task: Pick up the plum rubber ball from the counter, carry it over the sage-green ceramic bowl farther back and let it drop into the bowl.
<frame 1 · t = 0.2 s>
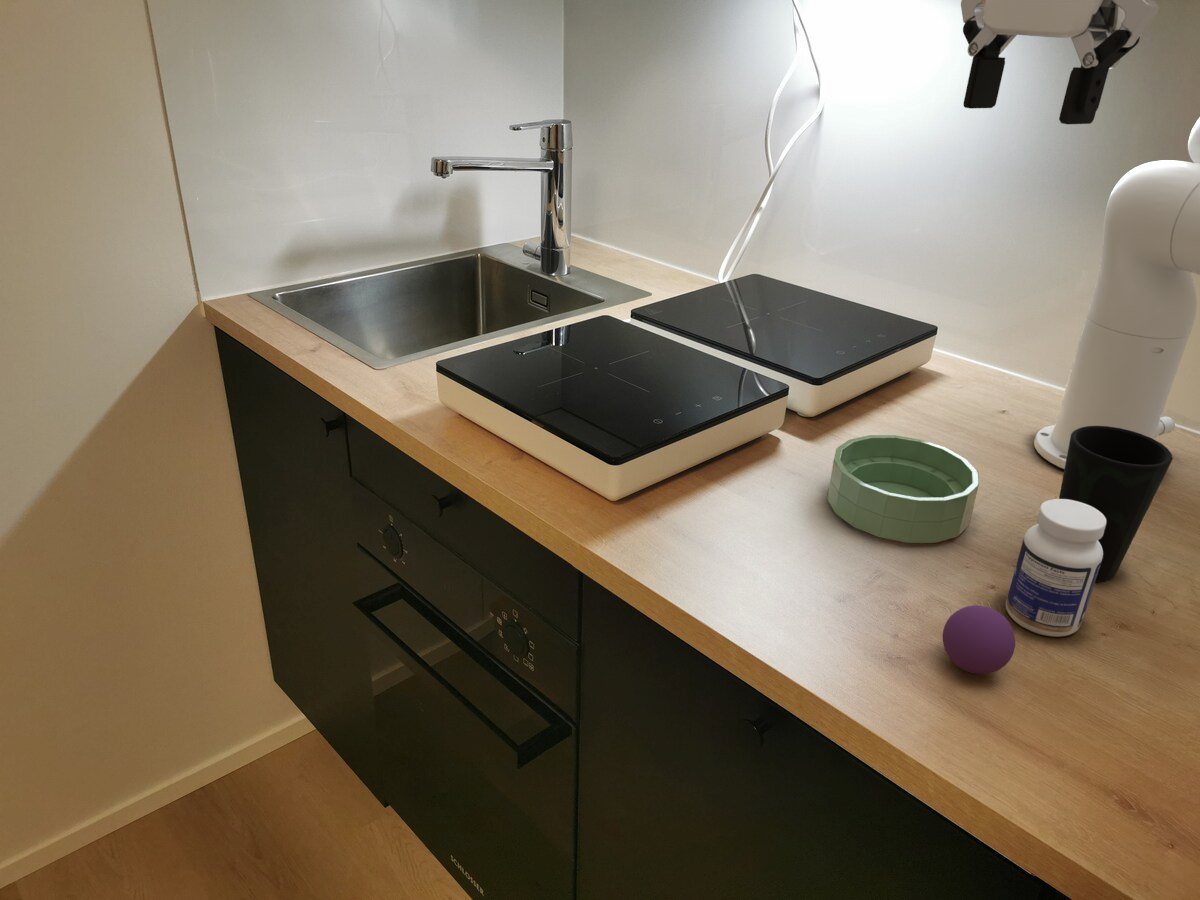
hand: (1024, 115, 74), 37 cm above the worktop, tool pointing down, fingers open, 9 cm apart
bowl: (895, 510, 89), on the worktop
pill bottle: (1040, 619, 74), on the worktop
cup: (1080, 565, 82), on the worktop
ball: (978, 639, 67), point 2 cm above the worktop
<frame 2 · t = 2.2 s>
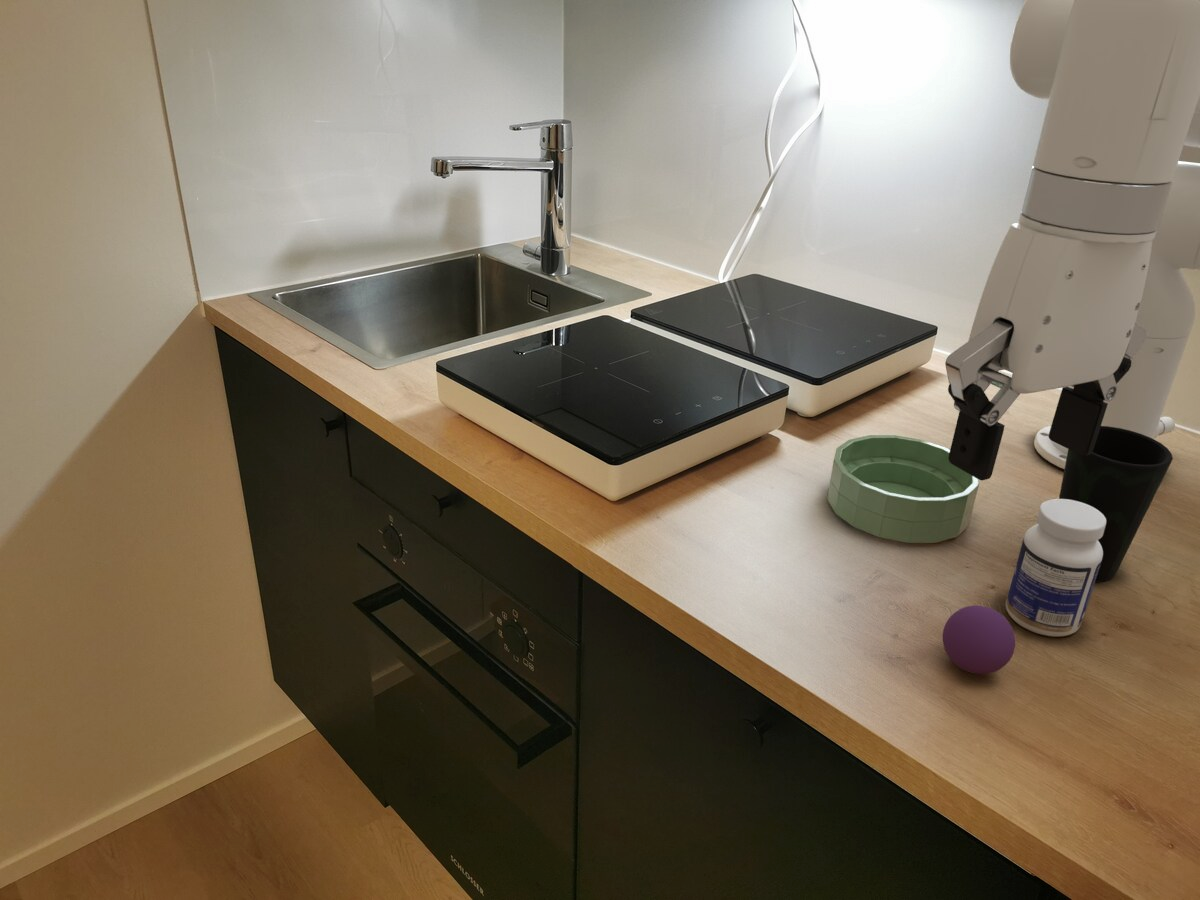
hand: (1020, 458, 62), 17 cm above the worktop, tool pointing down, fingers open, 9 cm apart
nothing on the worktop moved.
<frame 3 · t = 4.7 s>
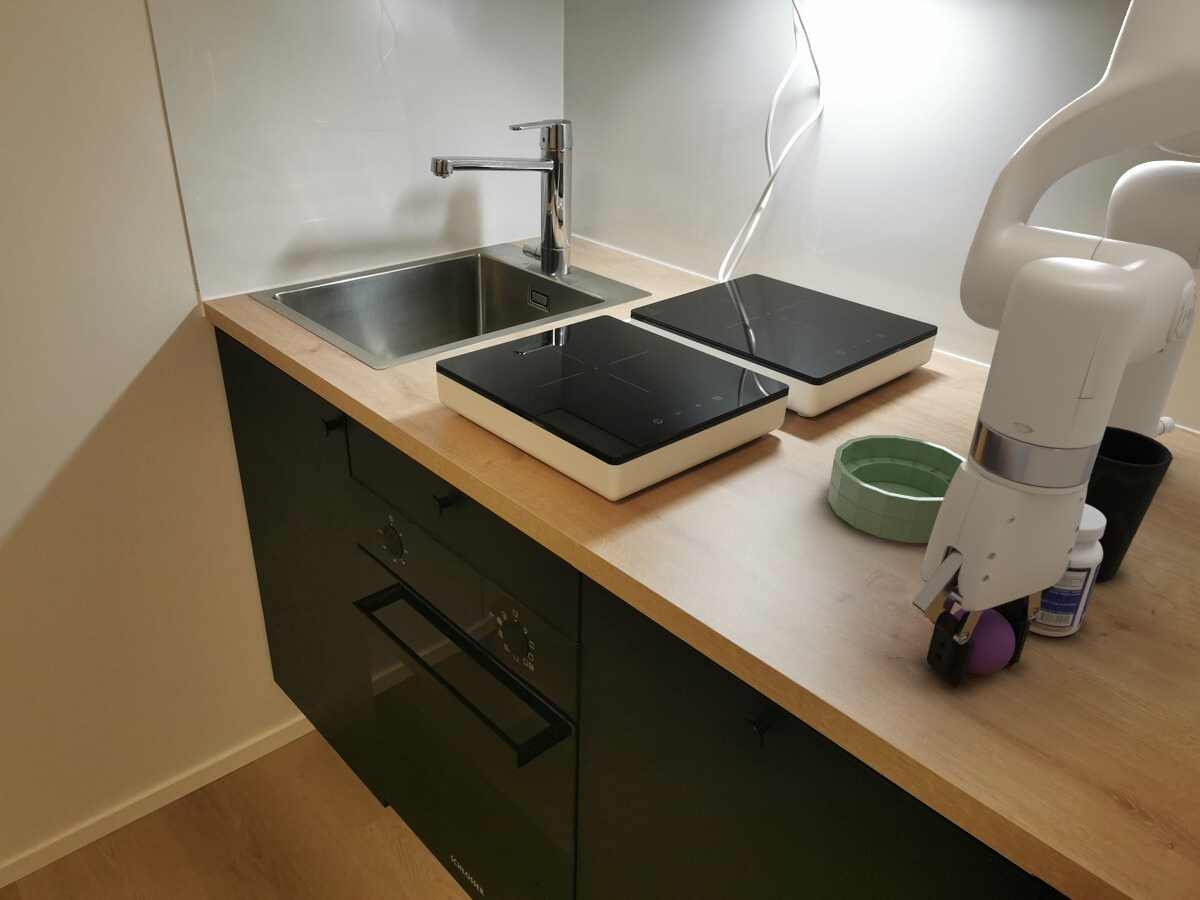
hand: (972, 661, 68), 0 cm above the worktop, tool pointing down, fingers closed on ball, 4 cm apart
ball: (978, 639, 67), point 2 cm above the worktop, touching gripper
everything else where it was.
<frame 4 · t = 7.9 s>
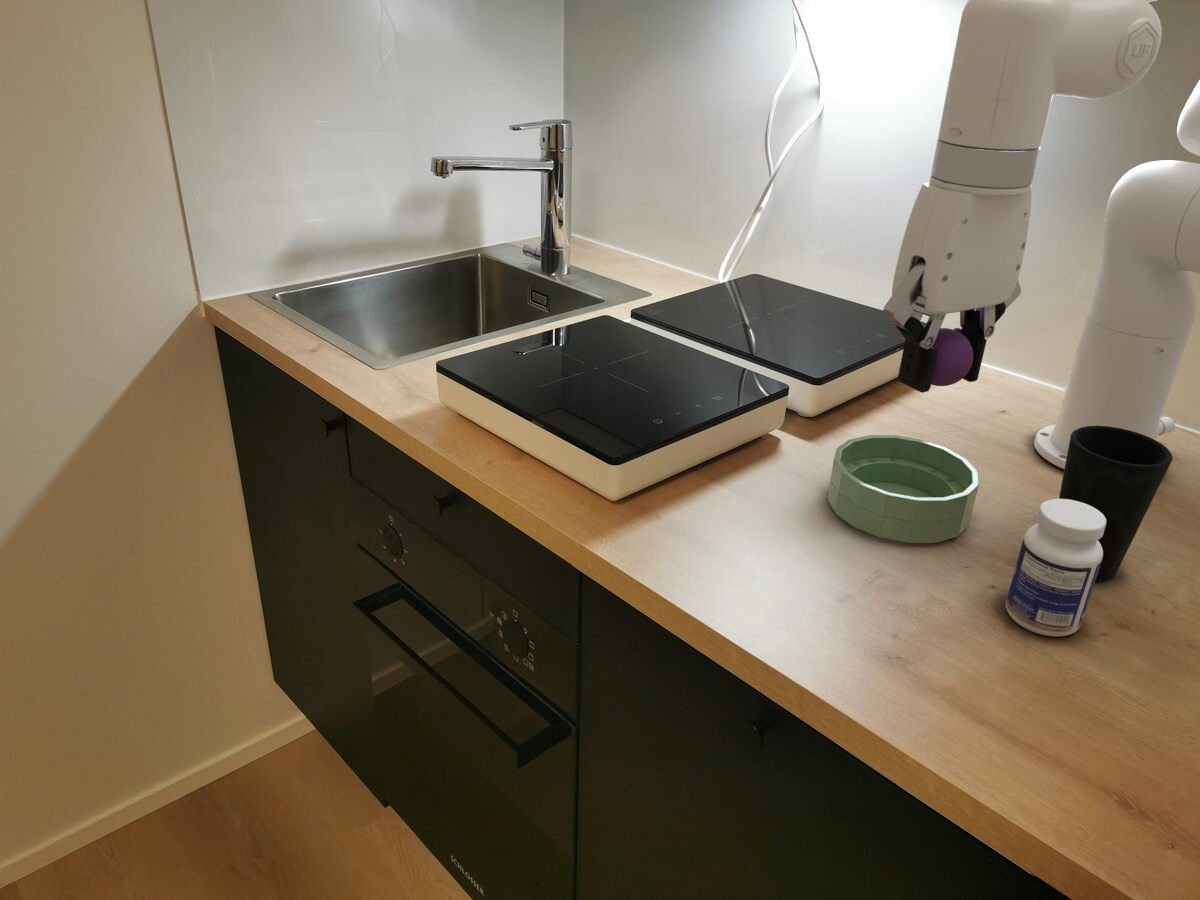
hand: (937, 379, 79), 15 cm above the worktop, tool pointing down, fingers closed on ball, 4 cm apart
ball: (942, 357, 78), point 17 cm above the worktop, touching gripper
everything else where it was.
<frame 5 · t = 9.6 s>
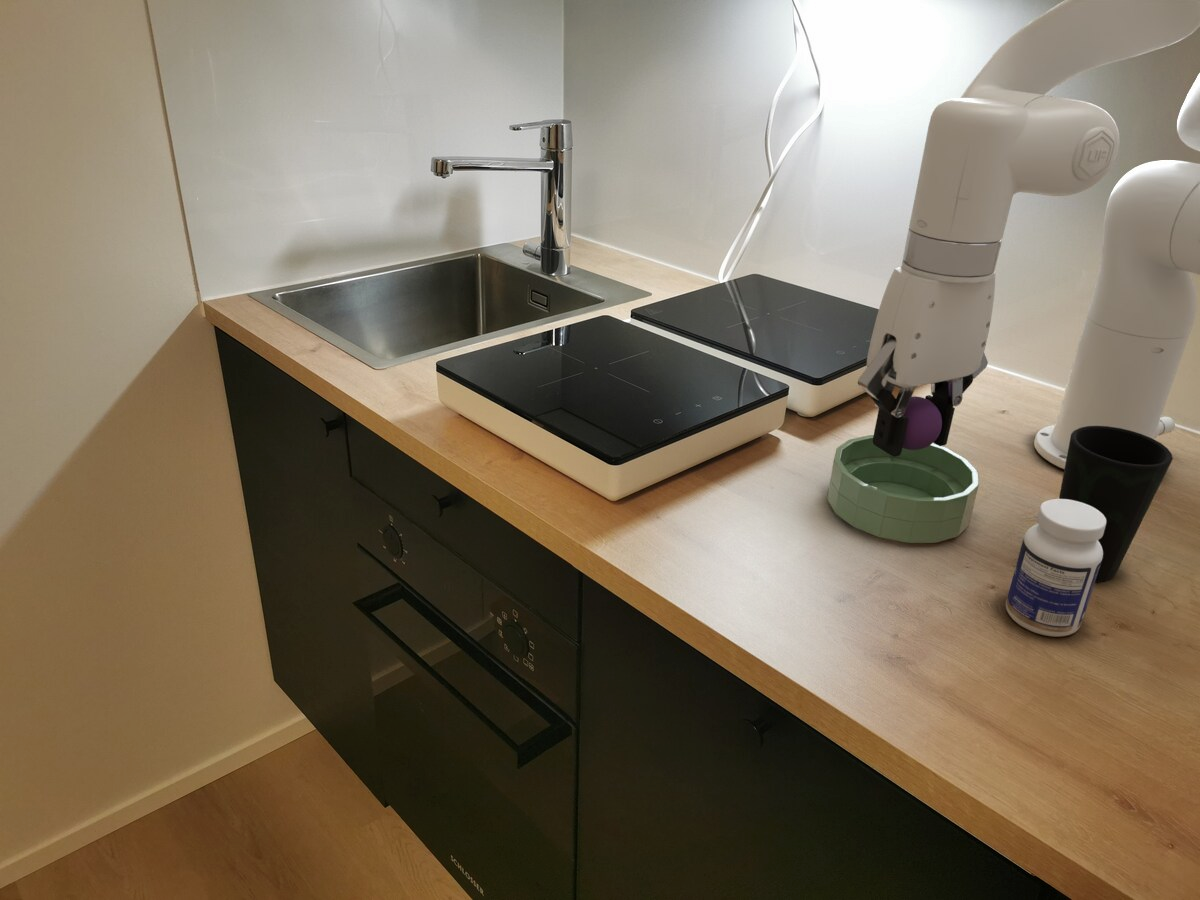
hand: (909, 443, 85), 7 cm above the worktop, tool pointing down, fingers closed on ball, 4 cm apart
ball: (913, 423, 85), point 9 cm above the worktop, touching gripper
everything else where it was.
when the fingers open (3 cm above the worktop, at t = 11.2 s): ball drops 2 cm, resting on bowl.
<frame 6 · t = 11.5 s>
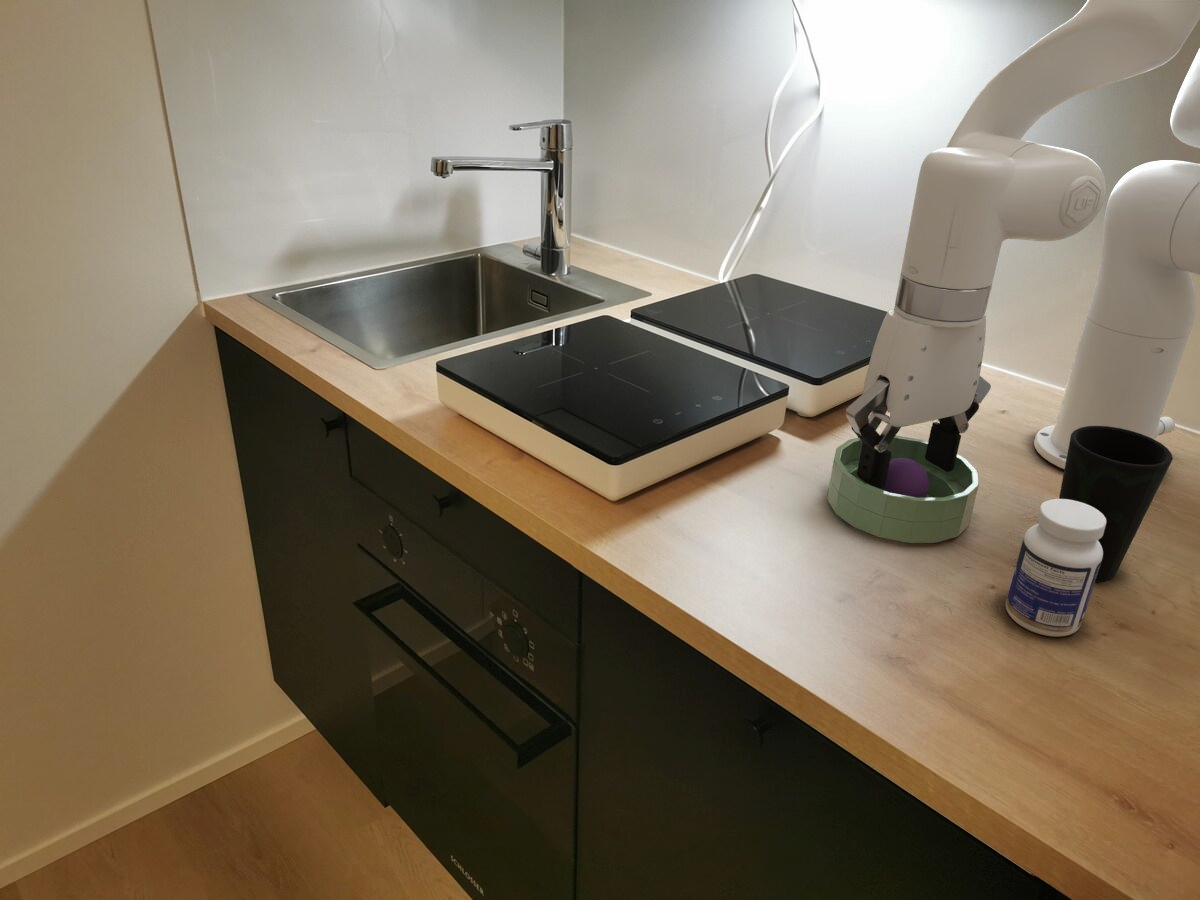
hand: (905, 473, 87), 4 cm above the worktop, tool pointing down, fingers open, 8 cm apart
ball: (901, 483, 88), point 3 cm above the worktop, touching bowl
everything else where it was.
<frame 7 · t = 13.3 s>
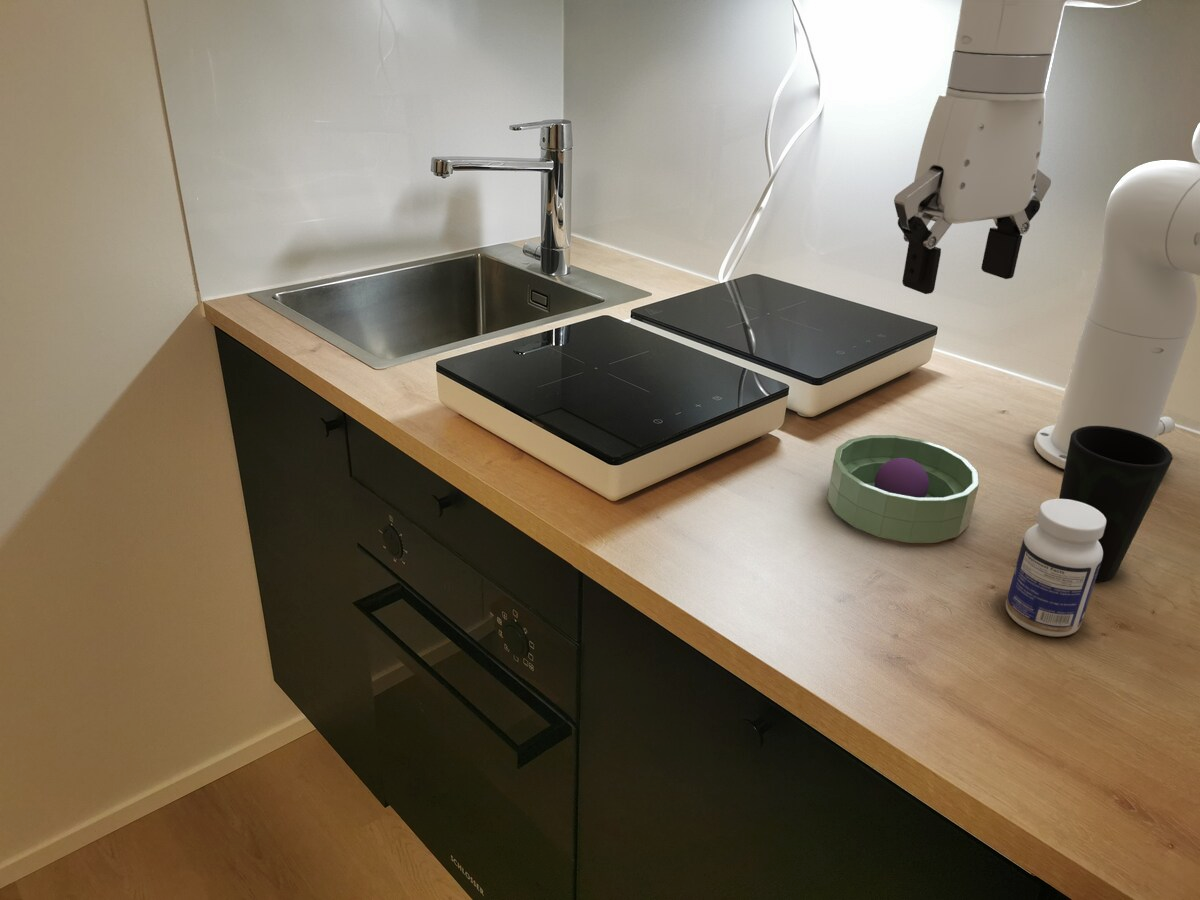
hand: (957, 282, 81), 22 cm above the worktop, tool pointing down, fingers open, 9 cm apart
nothing on the worktop moved.
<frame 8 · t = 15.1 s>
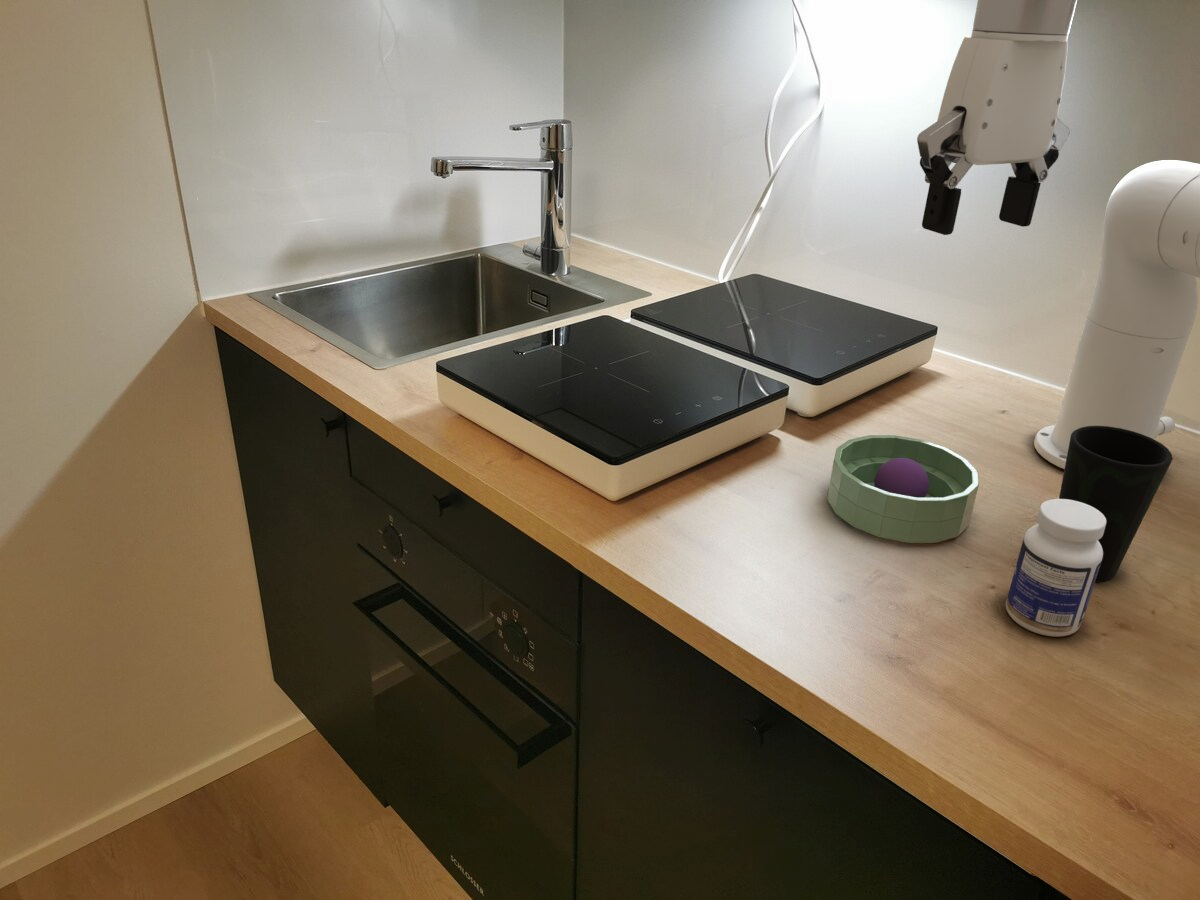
hand: (976, 227, 83), 26 cm above the worktop, tool pointing down, fingers open, 9 cm apart
nothing on the worktop moved.
at the end: ball inside the target area in the bowl (0.0 cm from its centre), point 3.0 cm above the bowl's base; the gripper is holding nothing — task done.
